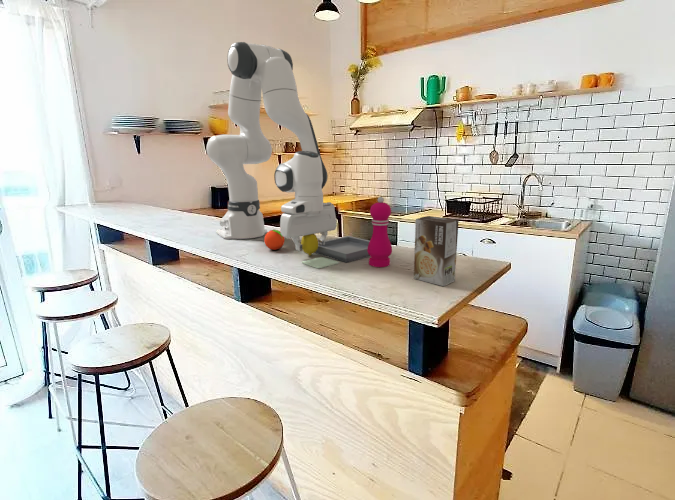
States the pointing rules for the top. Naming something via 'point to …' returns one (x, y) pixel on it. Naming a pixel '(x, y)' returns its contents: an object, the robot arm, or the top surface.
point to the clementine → (274, 239)
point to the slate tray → (344, 249)
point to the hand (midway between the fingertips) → (310, 247)
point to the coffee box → (435, 250)
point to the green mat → (320, 262)
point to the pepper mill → (380, 235)
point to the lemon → (309, 244)
